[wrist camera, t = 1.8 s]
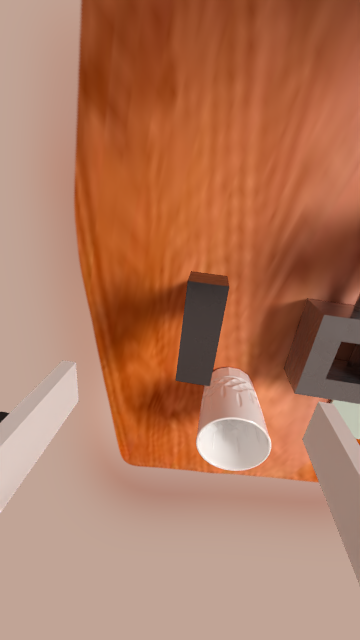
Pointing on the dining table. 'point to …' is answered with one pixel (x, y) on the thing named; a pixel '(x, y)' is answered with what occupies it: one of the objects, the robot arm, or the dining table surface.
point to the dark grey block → (201, 327)
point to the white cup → (232, 422)
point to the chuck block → (326, 352)
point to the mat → (349, 415)
